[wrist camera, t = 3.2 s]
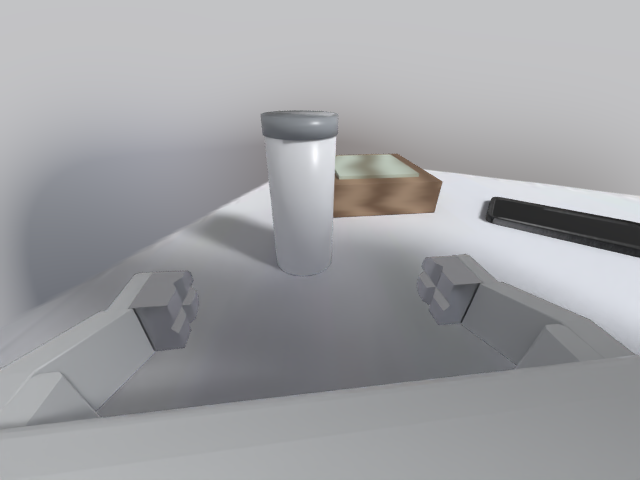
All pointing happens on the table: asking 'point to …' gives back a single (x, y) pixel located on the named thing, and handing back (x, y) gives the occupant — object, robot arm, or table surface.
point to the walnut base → (382, 186)
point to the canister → (301, 187)
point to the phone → (567, 225)
